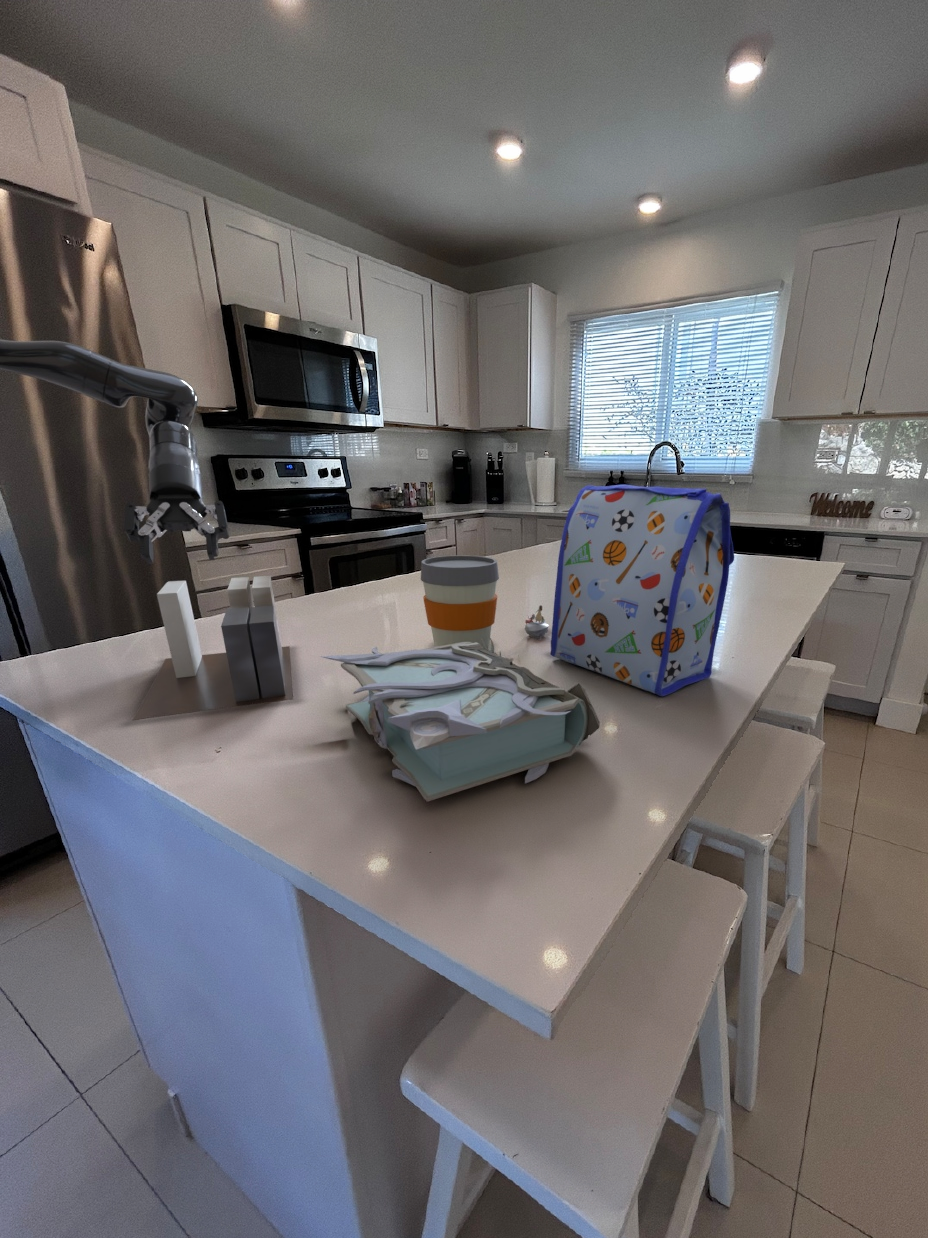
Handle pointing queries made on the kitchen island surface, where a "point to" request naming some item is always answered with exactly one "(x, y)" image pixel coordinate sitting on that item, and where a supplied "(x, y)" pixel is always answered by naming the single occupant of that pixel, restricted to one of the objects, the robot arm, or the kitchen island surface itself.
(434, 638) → the reusable coffee cup
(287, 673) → the shelf board
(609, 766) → the kitchen island surface
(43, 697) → the kitchen island surface
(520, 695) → the ornate book
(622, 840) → the kitchen island surface
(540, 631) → the figurine
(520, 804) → the kitchen island surface
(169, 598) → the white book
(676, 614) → the lunch bag
